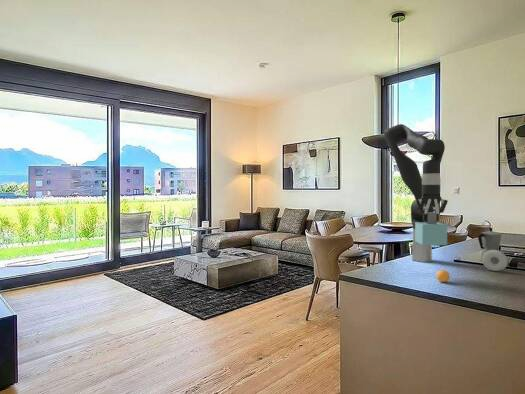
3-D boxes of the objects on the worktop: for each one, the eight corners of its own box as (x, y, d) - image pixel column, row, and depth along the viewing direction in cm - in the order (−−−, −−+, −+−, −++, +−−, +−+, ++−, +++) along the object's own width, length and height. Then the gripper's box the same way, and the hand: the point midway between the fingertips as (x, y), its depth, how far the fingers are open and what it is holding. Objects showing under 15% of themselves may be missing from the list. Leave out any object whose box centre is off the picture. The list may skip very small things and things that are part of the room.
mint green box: (422, 244, 152) (422, 213, 152) (415, 241, 162) (415, 211, 162) (447, 245, 151) (447, 213, 150) (438, 241, 161) (438, 211, 160)
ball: (435, 282, 147) (435, 270, 147) (437, 279, 151) (437, 268, 151) (448, 284, 144) (448, 272, 144) (450, 281, 148) (450, 269, 148)
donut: (507, 271, 162) (507, 250, 161) (507, 273, 159) (507, 251, 159) (482, 268, 168) (482, 248, 168) (481, 270, 166) (481, 249, 165)
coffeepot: (491, 259, 189) (491, 226, 188) (508, 262, 180) (508, 227, 179) (470, 261, 183) (470, 227, 183) (487, 265, 175) (487, 229, 174)
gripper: (417, 183, 153) (416, 223, 153) (451, 183, 151) (450, 223, 152) (412, 184, 160) (411, 221, 161) (444, 183, 159) (444, 221, 159)
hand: (430, 222), depth 156 cm, fingers closed on mint green box, 3 cm apart
